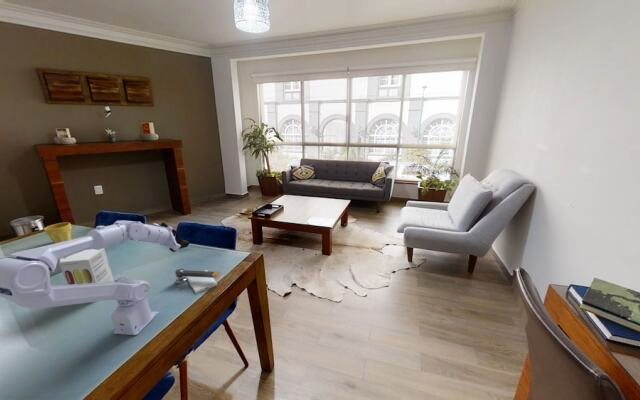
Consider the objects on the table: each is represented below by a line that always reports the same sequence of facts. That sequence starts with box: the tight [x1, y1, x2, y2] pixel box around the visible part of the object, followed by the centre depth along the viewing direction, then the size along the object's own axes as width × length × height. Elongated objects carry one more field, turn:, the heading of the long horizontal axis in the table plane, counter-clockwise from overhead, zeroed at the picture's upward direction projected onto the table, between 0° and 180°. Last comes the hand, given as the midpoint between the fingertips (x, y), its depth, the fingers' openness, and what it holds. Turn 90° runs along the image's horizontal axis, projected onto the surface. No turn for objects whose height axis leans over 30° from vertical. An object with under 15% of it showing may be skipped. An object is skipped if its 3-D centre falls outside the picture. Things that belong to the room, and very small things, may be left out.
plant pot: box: [43, 221, 73, 244], centre depth 138 cm, size 10×10×10 cm
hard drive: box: [186, 269, 218, 295], centre depth 102 cm, size 2×8×12 cm
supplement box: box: [58, 248, 115, 285], centre depth 94 cm, size 10×9×17 cm
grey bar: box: [174, 268, 220, 279], centre depth 101 cm, size 3×18×2 cm, turn 84°
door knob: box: [175, 276, 188, 285], centre depth 102 cm, size 4×4×3 cm
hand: (181, 239), depth 98 cm, fingers open, 7 cm apart
